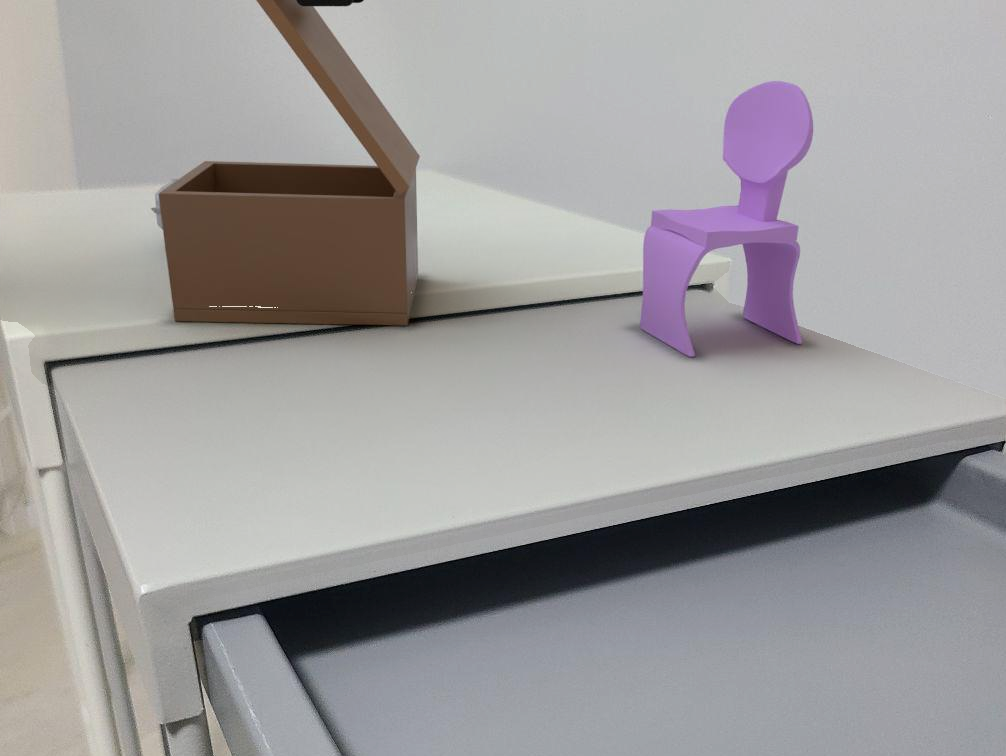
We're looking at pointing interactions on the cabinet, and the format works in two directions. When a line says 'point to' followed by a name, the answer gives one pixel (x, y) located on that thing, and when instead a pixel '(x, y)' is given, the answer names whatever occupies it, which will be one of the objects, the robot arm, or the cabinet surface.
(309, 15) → the lid
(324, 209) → the brown open rectangular box
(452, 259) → the cabinet surface
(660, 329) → the toy chair
